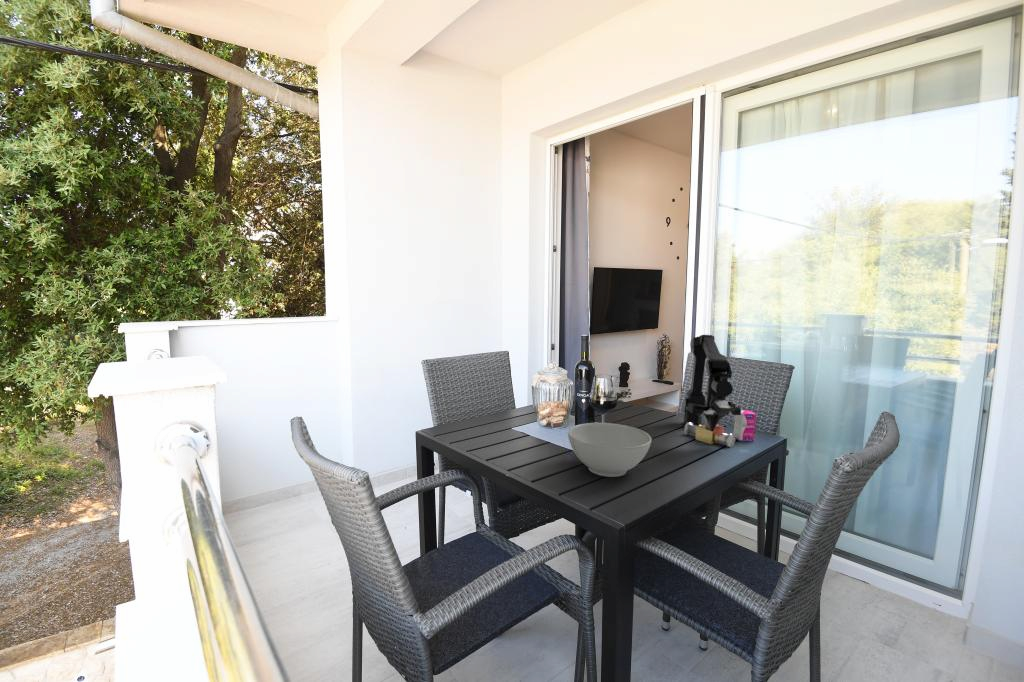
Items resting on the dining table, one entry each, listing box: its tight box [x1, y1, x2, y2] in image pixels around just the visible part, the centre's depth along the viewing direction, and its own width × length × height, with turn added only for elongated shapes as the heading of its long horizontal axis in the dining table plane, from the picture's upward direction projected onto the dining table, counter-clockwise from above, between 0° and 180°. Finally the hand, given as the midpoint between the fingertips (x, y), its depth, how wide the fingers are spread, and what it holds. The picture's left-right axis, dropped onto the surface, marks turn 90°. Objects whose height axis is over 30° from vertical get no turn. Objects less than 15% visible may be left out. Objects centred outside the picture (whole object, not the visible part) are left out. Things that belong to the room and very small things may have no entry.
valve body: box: [683, 422, 736, 448], centre depth 194 cm, size 19×7×5 cm, turn 36°
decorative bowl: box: [567, 422, 652, 478], centre depth 160 cm, size 27×27×12 cm
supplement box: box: [732, 409, 757, 442], centre depth 197 cm, size 6×6×12 cm
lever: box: [704, 418, 725, 435], centre depth 189 cm, size 13×4×3 cm, turn 179°
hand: (711, 431), depth 185 cm, fingers closed
